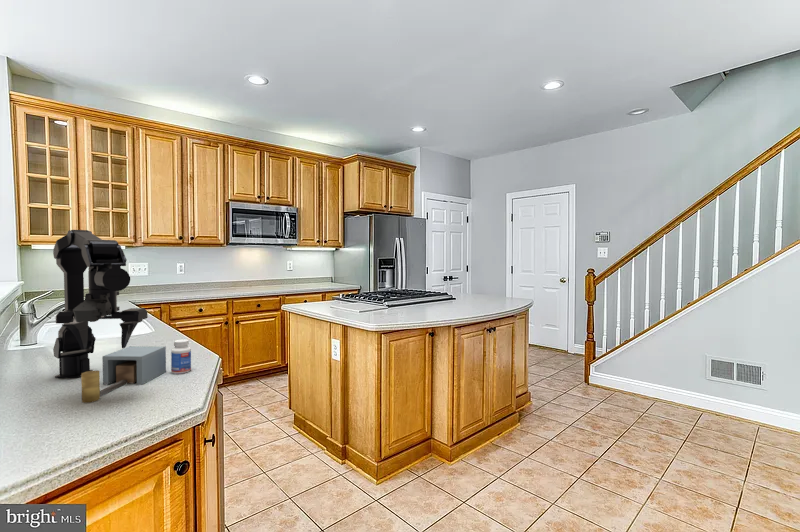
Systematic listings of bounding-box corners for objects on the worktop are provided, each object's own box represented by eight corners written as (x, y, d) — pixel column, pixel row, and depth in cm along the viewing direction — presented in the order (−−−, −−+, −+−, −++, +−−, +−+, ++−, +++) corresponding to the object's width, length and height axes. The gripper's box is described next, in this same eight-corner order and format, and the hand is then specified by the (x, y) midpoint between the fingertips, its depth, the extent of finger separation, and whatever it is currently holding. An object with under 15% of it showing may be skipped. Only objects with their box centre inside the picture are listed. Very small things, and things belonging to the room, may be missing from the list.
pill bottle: (182, 374, 120) (181, 343, 119) (167, 373, 121) (166, 342, 120) (195, 369, 125) (194, 339, 124) (180, 368, 126) (180, 338, 126)
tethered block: (75, 402, 97) (74, 374, 97) (128, 377, 117) (127, 354, 116) (95, 402, 97) (94, 375, 97) (145, 377, 117) (144, 354, 116)
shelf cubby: (103, 384, 111) (102, 356, 110) (130, 371, 122) (130, 346, 122) (142, 384, 111) (141, 356, 110) (166, 371, 122) (165, 346, 122)
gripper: (38, 292, 91) (40, 358, 92) (126, 291, 95) (127, 355, 95) (69, 287, 102) (71, 347, 103) (147, 287, 106) (148, 344, 106)
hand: (104, 348), depth 101 cm, fingers open, 9 cm apart
